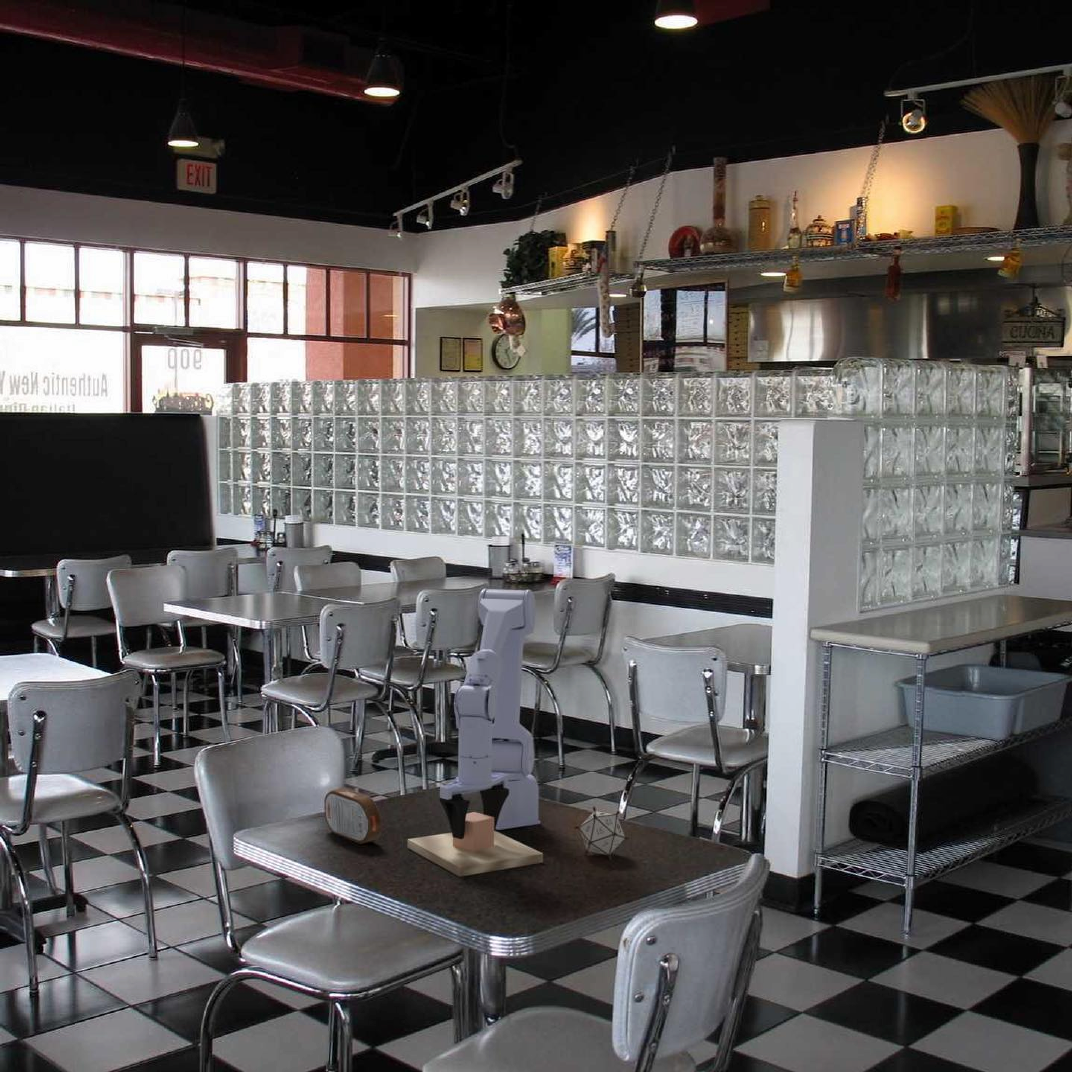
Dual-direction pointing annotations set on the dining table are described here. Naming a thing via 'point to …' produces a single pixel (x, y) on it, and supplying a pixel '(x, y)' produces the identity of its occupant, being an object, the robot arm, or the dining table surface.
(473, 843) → the terracotta cube
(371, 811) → the tin
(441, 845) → the maple board
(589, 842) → the game die
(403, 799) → the dining table surface
